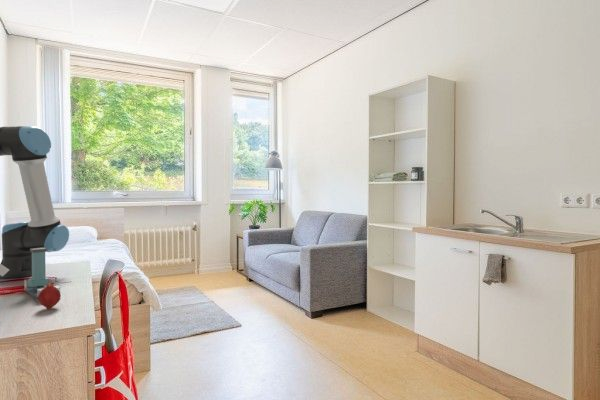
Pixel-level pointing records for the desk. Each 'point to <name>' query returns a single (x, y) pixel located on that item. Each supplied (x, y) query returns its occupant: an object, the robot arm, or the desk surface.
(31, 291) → the rail
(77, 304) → the desk surface
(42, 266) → the carriage
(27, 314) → the desk surface
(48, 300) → the onion
